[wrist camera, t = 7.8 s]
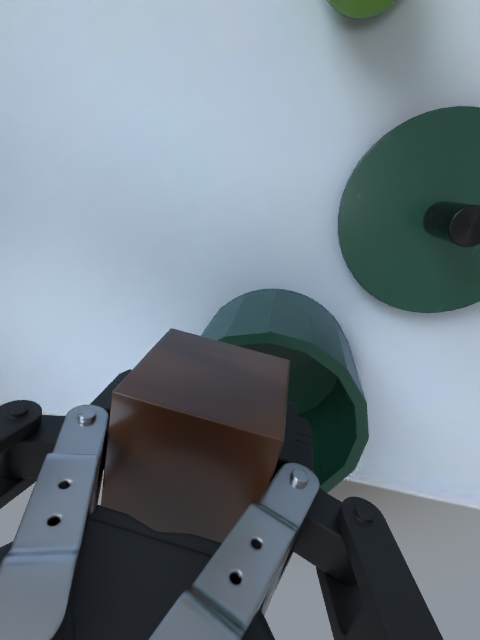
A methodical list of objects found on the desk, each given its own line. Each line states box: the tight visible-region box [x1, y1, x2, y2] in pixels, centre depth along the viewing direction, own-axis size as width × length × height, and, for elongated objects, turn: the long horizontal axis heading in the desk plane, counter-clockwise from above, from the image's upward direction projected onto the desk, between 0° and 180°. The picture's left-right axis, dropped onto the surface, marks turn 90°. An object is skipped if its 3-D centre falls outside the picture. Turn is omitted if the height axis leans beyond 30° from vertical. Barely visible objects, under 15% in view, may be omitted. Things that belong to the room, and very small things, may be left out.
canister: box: [201, 289, 369, 493], centre depth 27 cm, size 12×12×10 cm
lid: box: [338, 106, 480, 313], centre depth 23 cm, size 13×13×6 cm
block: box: [101, 329, 290, 543], centre depth 13 cm, size 5×5×5 cm
